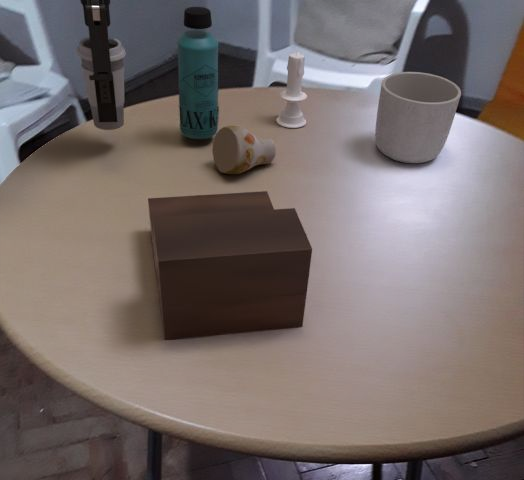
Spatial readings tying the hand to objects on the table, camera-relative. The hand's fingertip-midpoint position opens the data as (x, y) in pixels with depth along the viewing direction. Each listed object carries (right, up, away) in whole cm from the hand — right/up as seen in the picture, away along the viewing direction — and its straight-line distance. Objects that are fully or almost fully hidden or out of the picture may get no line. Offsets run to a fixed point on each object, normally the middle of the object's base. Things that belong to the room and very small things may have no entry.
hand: (107, 112), depth 97 cm
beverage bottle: (+13, -2, +8) cm, 16 cm away
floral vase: (+21, -8, +2) cm, 23 cm away
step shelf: (+19, -27, -18) cm, 38 cm away
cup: (0, -1, +1) cm, 2 cm away
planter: (+48, -4, +8) cm, 49 cm away
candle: (+29, +4, +15) cm, 33 cm away
